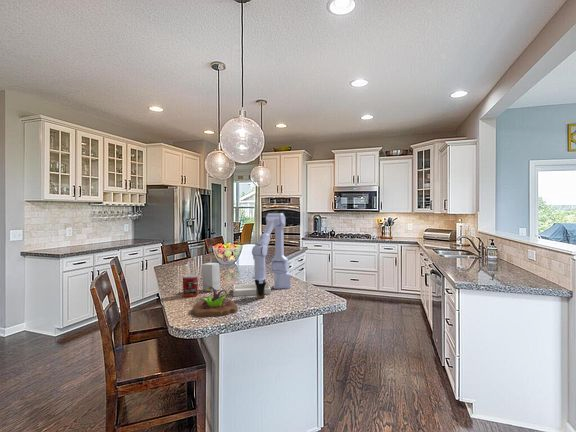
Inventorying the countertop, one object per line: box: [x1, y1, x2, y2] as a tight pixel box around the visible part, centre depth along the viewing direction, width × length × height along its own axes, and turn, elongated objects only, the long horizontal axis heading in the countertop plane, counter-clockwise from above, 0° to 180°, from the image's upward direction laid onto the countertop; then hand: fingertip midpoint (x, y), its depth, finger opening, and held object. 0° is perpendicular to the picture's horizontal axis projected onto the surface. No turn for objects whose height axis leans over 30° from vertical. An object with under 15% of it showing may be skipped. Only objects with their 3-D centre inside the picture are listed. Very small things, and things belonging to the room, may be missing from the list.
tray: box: [232, 282, 272, 297], centre depth 175 cm, size 20×14×3 cm
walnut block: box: [255, 286, 266, 300], centre depth 163 cm, size 4×4×6 cm
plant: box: [191, 287, 238, 318], centre depth 143 cm, size 20×20×11 cm
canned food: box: [182, 273, 199, 299], centre depth 169 cm, size 8×8×11 cm
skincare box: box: [201, 262, 221, 293], centre depth 180 cm, size 8×7×16 cm
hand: (260, 294), depth 163 cm, fingers closed on walnut block, 4 cm apart
